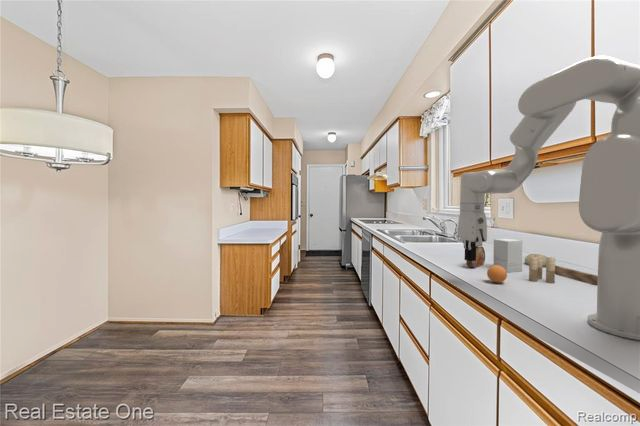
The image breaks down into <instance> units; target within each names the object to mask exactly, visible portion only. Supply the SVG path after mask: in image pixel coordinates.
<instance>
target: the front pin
mask: <svg viewBox="0 0 640 426" xmlns="http://www.w3.org/2000/svg"><path fill="white" fill-rule="evenodd" d="M528 266H529V267H528V281H529V282H538V279H537V268H538V257H529V265H528Z"/></svg>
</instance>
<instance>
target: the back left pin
mask: <svg viewBox="0 0 640 426" xmlns="http://www.w3.org/2000/svg"><path fill="white" fill-rule="evenodd" d="M542 255H543V254H539V255H534V257H538V268H537V280H542V279H543V267H542V262H543V256H542Z"/></svg>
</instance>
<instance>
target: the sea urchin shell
mask: <svg viewBox="0 0 640 426" xmlns="http://www.w3.org/2000/svg"><path fill="white" fill-rule="evenodd" d="M534 255H540V254H539V253H538V254H537V253H531V254H528V255H526V256H525V258H524V262H525V264H526V265H528V266H529V257H534ZM541 255H542V256H543V262H542V268H543V267H544V268H546V258H547V256H546V255H543V254H541Z"/></svg>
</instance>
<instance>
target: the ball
mask: <svg viewBox="0 0 640 426" xmlns="http://www.w3.org/2000/svg"><path fill="white" fill-rule="evenodd" d="M486 275H487V277H488V279H489V280H490V281H491V282H493V283H496V284H499V283H503V282H504V281H505V280H506V279H507V277H508V272H506V270H505V269H504V268H503V267H501V266H498V265H494V264H493V265H492V266H490V267H489V268H488V269H487V272H486Z"/></svg>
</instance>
